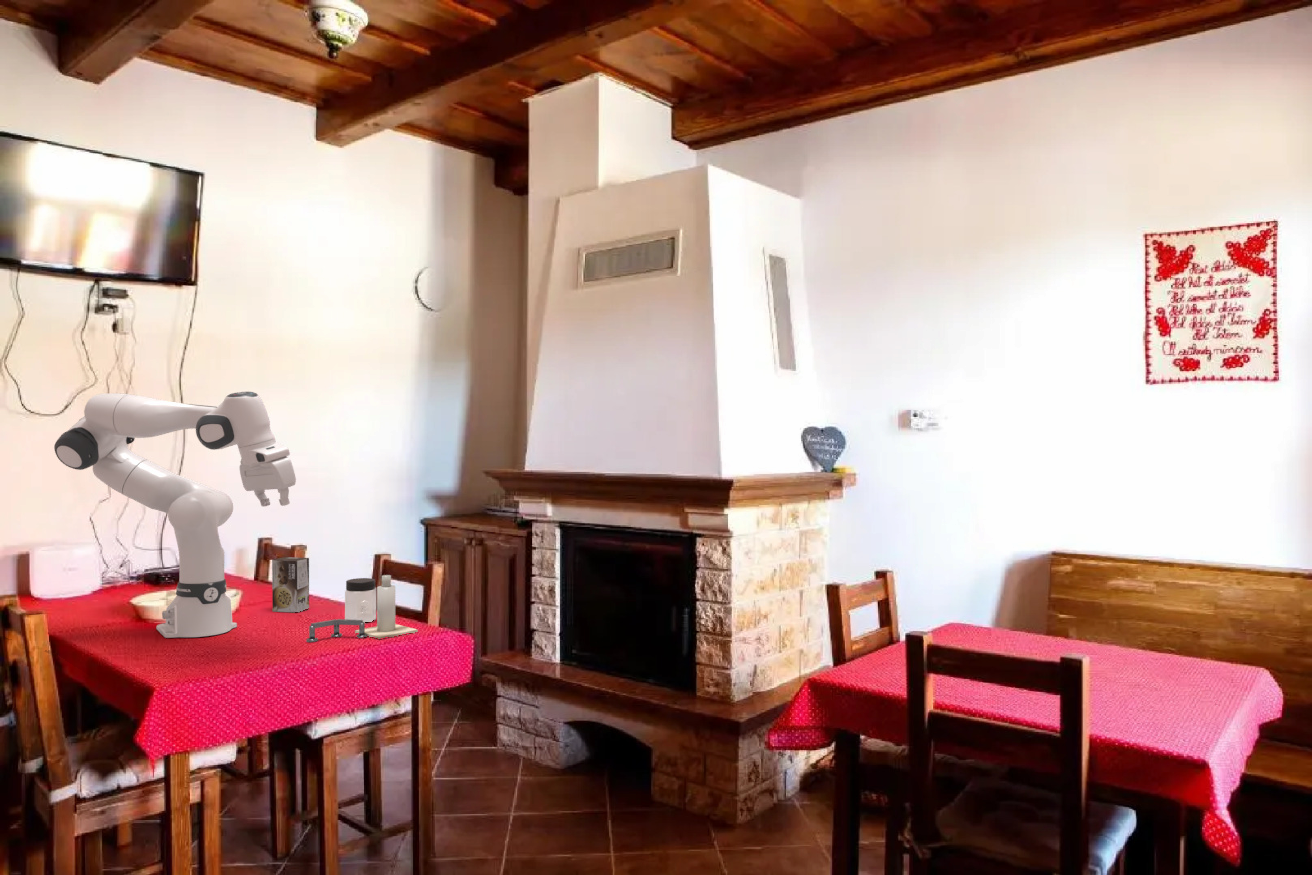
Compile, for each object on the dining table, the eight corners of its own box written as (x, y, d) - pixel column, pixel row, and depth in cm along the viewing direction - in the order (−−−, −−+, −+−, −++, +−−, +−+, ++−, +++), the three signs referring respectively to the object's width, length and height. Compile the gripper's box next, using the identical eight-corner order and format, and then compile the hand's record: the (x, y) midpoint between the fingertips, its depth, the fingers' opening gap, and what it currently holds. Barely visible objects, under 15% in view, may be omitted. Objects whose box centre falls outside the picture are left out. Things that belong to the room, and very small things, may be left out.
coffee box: (310, 609, 277) (310, 557, 277) (297, 613, 271) (297, 560, 271) (284, 607, 279) (284, 556, 279) (271, 611, 273) (271, 559, 273)
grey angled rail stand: (304, 641, 235) (304, 623, 235) (351, 632, 245) (352, 615, 245) (321, 646, 229) (321, 628, 229) (369, 637, 240) (369, 620, 240)
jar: (348, 625, 254) (348, 583, 254) (341, 620, 261) (341, 579, 261) (380, 621, 259) (380, 580, 259) (372, 617, 266) (372, 577, 266)
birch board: (355, 633, 244) (355, 630, 244) (393, 626, 254) (393, 623, 254) (379, 639, 237) (379, 636, 237) (417, 632, 246) (417, 629, 246)
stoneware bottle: (373, 630, 245) (373, 575, 245) (389, 627, 248) (389, 573, 248) (383, 632, 242) (383, 577, 242) (398, 629, 245) (398, 575, 245)
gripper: (228, 459, 229) (244, 510, 232) (269, 454, 217) (285, 508, 219) (250, 452, 234) (266, 502, 237) (292, 447, 222) (307, 500, 224)
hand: (275, 505), depth 228 cm, fingers open, 8 cm apart
